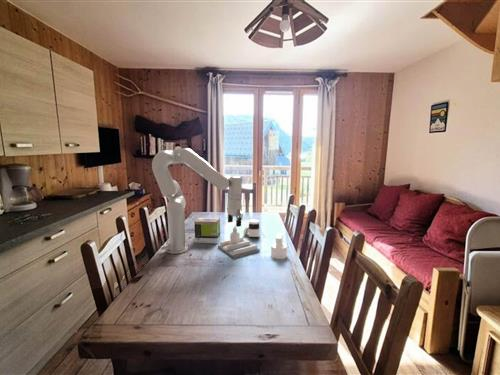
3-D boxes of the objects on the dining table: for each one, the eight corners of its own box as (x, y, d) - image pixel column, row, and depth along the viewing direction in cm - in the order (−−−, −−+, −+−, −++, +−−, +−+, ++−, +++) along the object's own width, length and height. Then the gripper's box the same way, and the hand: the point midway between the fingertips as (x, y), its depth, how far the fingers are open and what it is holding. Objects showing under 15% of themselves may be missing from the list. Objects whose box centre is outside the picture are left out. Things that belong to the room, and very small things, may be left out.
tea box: (220, 238, 175) (220, 217, 173) (217, 244, 165) (217, 221, 163) (199, 237, 177) (198, 216, 174) (194, 243, 167) (193, 221, 165)
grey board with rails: (233, 258, 144) (233, 252, 143) (218, 247, 159) (218, 241, 159) (259, 251, 154) (259, 245, 153) (242, 241, 169) (242, 236, 169)
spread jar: (259, 239, 174) (259, 223, 172) (242, 239, 174) (242, 222, 172) (259, 233, 186) (259, 218, 184) (243, 233, 186) (243, 217, 184)
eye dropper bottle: (230, 243, 162) (230, 225, 160) (239, 243, 162) (239, 225, 160) (230, 246, 157) (230, 227, 156) (239, 246, 157) (239, 227, 155)
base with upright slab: (286, 259, 144) (286, 239, 142) (270, 258, 145) (270, 237, 143) (287, 253, 152) (287, 233, 150) (272, 251, 154) (272, 232, 152)
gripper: (222, 194, 160) (222, 221, 162) (237, 199, 146) (236, 229, 148) (233, 193, 164) (232, 219, 166) (248, 198, 150) (247, 227, 152)
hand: (234, 224), depth 157 cm, fingers open, 9 cm apart
